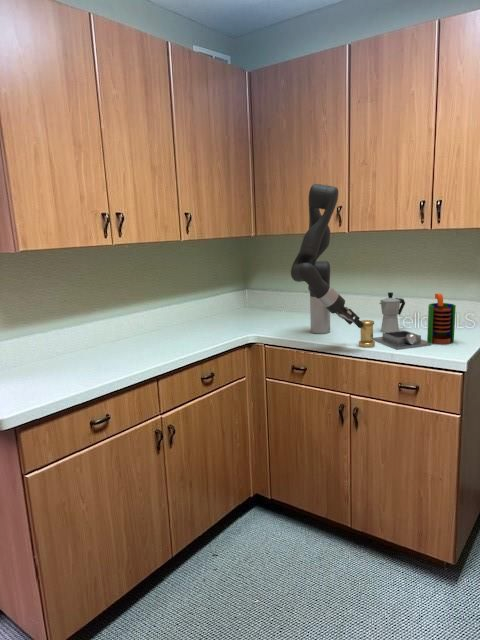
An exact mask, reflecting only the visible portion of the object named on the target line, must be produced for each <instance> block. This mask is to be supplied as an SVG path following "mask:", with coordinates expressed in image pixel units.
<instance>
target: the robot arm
mask: <svg viewBox="0 0 480 640" xmlns="http://www.w3.org/2000/svg"><path fill="white" fill-rule="evenodd" d="M308 193H309V194H308V216H309V217H308V221H309V222H308V229H307V231H306V232H305V233H304V236H303V238H302V242H301V244H300V249H299V252H298V253H297V255H296V257H295V259H294V261H293V263H292V265H291V268H290V276H291V278H292V280H293V281H294V282H297V283H298V282H299V283H300V282H305V283H306V284H307V287H308V291H309V308H310V310H309V311H310V312H309V313H310V314H309V315H310V316H309V317H310V319H309V320H310V333H313V334H328V333H331V314H336V315H337V316H338V317H339V318H341V319H342V320H344V321H345V322H346V323H348V325H352V324H354V325H356V326H357V327H358V328H359V329H361V328H362V327H363V325H364V324H363V323H362V322H361V321H362V320H360V319H361V318H360V317H359V315H358V314H356V313H355V312H354V311H353V310H352V308H349V307H347V306H345V305H346V300H345V299H344V297H342V296H341V295H340V293H339V292H338V291H336V290H335V289H334V288H333V287H332V286H331V285H330V284H331V283H330V282H331V265H330V262H329V261H326V260H322V261H321V260H320V261H317V260H318V259H319V257H321V255H322V254H324V253H325V251H326V250H327V249H328V248H329V245H330V242H331V241H330V239H331V229H330V226H329V223H330V222H331V221H330V220H331V218H332V216H333V214H334V211H335V209H336V207H337V203H338V199H339V189H338V187H336V186H332V185H327V184H326V185H325V184H323V183H322V184H321V183H314V184H312V185H311V186H310V189H309V191H308ZM320 210H324V211H323V213H321V211H320Z"/></svg>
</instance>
